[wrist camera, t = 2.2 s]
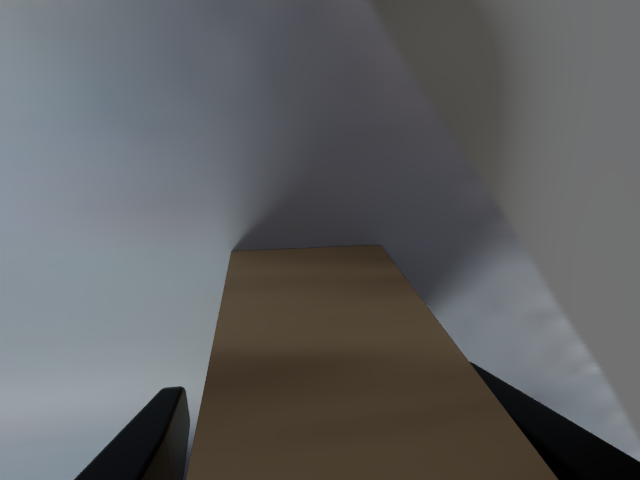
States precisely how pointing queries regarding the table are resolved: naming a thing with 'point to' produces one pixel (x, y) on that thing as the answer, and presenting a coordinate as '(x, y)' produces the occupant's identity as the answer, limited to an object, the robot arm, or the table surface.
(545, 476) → the peg
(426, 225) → the table surface
